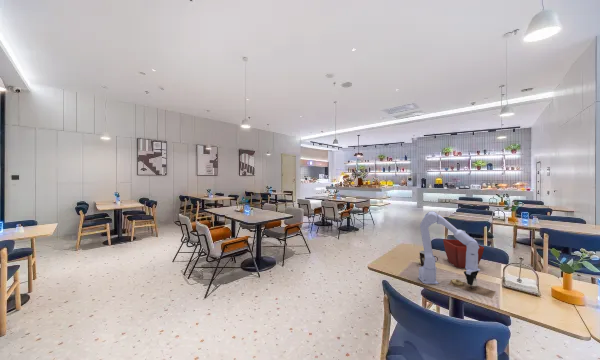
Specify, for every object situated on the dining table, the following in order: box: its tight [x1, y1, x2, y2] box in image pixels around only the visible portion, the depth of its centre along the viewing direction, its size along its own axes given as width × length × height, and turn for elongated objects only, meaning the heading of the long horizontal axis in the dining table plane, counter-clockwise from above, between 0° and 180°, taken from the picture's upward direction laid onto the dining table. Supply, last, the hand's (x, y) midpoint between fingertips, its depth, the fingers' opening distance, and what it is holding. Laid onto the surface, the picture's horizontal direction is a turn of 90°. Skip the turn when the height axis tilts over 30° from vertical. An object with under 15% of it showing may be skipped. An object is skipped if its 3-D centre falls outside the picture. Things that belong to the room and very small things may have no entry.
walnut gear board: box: [447, 278, 497, 299], centre depth 138 cm, size 21×11×4 cm, turn 42°
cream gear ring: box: [465, 277, 478, 286], centre depth 138 cm, size 5×5×3 cm
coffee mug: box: [419, 250, 439, 267], centre depth 173 cm, size 12×9×10 cm
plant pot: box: [442, 238, 485, 269], centre depth 175 cm, size 19×19×17 cm
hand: (471, 283), depth 138 cm, fingers closed on cream gear ring, 5 cm apart
